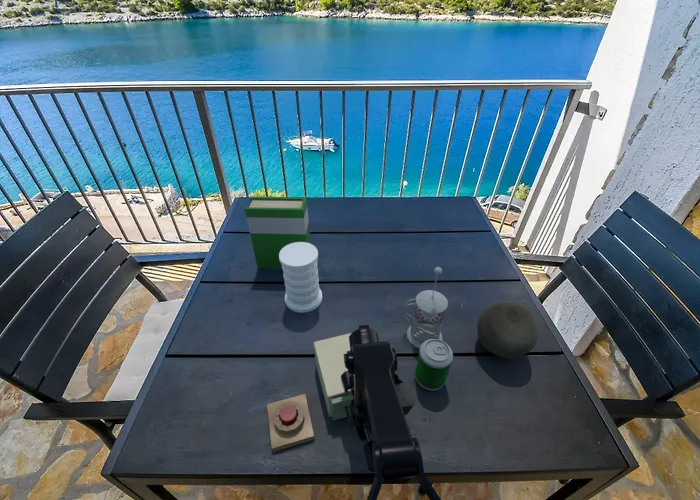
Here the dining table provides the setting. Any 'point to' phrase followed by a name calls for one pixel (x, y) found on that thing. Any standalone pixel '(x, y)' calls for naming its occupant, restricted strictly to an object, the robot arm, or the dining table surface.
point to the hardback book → (276, 227)
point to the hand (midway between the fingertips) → (367, 434)
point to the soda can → (433, 364)
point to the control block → (293, 432)
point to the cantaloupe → (507, 329)
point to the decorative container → (301, 276)
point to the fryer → (331, 366)
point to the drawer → (342, 408)
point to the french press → (427, 315)
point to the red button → (288, 414)
